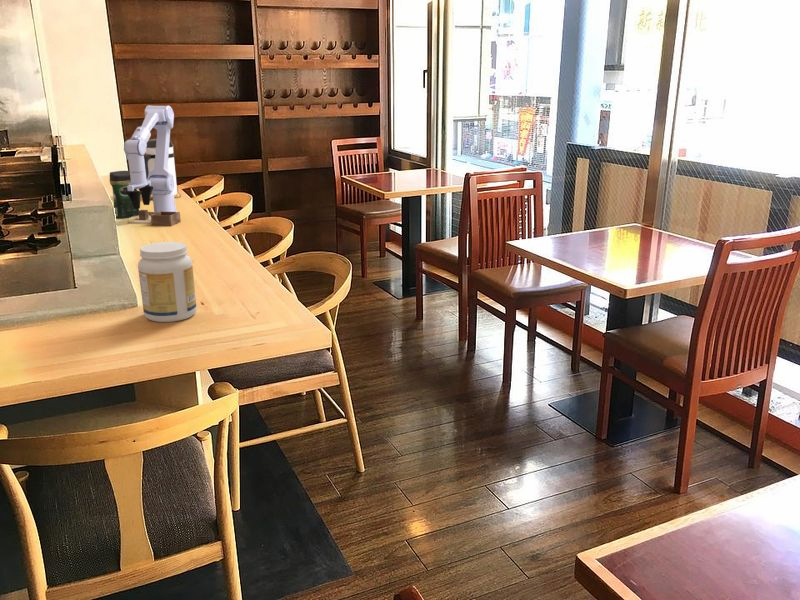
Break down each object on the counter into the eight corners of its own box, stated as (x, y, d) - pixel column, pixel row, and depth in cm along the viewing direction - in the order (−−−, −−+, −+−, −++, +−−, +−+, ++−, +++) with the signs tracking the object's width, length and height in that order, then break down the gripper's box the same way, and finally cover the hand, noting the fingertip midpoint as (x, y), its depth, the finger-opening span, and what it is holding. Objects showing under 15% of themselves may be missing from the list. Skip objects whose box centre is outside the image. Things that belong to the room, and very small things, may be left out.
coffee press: (144, 197, 323) (136, 132, 314) (178, 194, 330) (172, 131, 321) (147, 202, 309) (140, 135, 299) (183, 200, 315) (177, 134, 306)
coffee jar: (136, 213, 284) (131, 169, 278) (141, 216, 278) (136, 171, 272) (112, 216, 279) (106, 170, 273) (116, 219, 272) (110, 172, 267)
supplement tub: (178, 303, 171) (171, 238, 165) (207, 314, 163) (201, 245, 158) (133, 316, 162) (125, 247, 156) (162, 327, 154) (154, 255, 149)
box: (161, 222, 266) (160, 211, 265) (180, 223, 265) (179, 212, 264) (151, 226, 259) (150, 215, 257) (171, 227, 258) (170, 215, 256)
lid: (139, 220, 271) (138, 208, 269) (160, 221, 270) (158, 208, 268) (128, 225, 262) (126, 212, 261) (149, 225, 261) (148, 212, 260)
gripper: (137, 168, 267) (141, 203, 272) (118, 174, 254) (122, 209, 258) (154, 169, 266) (158, 203, 271) (135, 174, 253) (140, 210, 257)
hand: (141, 206), depth 264 cm, fingers open, 7 cm apart
